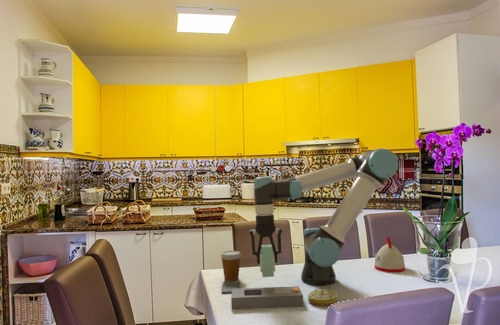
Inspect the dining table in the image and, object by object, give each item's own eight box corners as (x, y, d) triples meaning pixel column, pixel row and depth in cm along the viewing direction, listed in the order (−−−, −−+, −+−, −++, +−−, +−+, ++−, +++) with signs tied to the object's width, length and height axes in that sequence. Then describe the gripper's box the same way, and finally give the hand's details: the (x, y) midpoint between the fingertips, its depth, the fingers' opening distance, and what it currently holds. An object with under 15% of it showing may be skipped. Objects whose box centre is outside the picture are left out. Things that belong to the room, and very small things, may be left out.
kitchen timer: (401, 265, 181) (400, 235, 181) (408, 273, 167) (407, 240, 168) (372, 264, 183) (371, 235, 184) (377, 272, 170) (376, 240, 170)
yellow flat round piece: (310, 296, 141) (310, 286, 141) (338, 298, 137) (338, 288, 138) (305, 305, 131) (305, 295, 131) (336, 308, 128) (335, 298, 128)
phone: (239, 284, 159) (239, 281, 159) (238, 294, 146) (238, 291, 146) (223, 285, 159) (223, 282, 159) (221, 295, 146) (221, 292, 146)
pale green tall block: (272, 273, 150) (271, 244, 150) (273, 276, 146) (272, 246, 146) (262, 274, 150) (260, 245, 150) (262, 277, 146) (261, 247, 146)
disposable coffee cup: (239, 282, 160) (238, 255, 160) (218, 281, 162) (218, 255, 162) (243, 276, 169) (243, 250, 169) (224, 275, 171) (223, 250, 171)
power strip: (298, 296, 140) (298, 284, 140) (303, 306, 130) (302, 293, 130) (232, 299, 139) (231, 286, 139) (231, 309, 129) (231, 295, 129)
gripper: (284, 212, 152) (287, 267, 152) (243, 214, 152) (246, 269, 151) (286, 214, 145) (290, 272, 144) (243, 216, 144) (246, 275, 144)
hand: (267, 270), depth 148 cm, fingers closed on pale green tall block, 4 cm apart
